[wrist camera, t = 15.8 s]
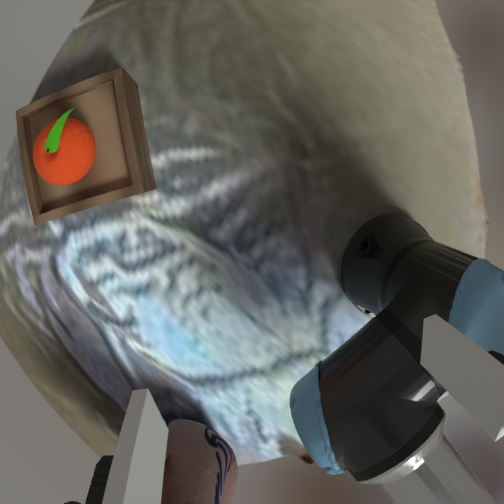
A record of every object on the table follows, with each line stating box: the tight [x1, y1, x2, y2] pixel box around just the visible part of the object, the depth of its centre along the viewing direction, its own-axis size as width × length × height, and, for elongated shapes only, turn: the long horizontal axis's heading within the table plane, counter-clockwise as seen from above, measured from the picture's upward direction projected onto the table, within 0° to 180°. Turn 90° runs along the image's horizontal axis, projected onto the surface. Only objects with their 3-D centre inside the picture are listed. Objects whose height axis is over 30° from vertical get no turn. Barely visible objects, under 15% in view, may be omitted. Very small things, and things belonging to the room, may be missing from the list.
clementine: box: [33, 108, 96, 186], centre depth 27 cm, size 8×7×7 cm
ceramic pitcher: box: [161, 418, 238, 504], centre depth 36 cm, size 18×21×25 cm
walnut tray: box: [16, 67, 157, 225], centre depth 32 cm, size 14×14×8 cm
